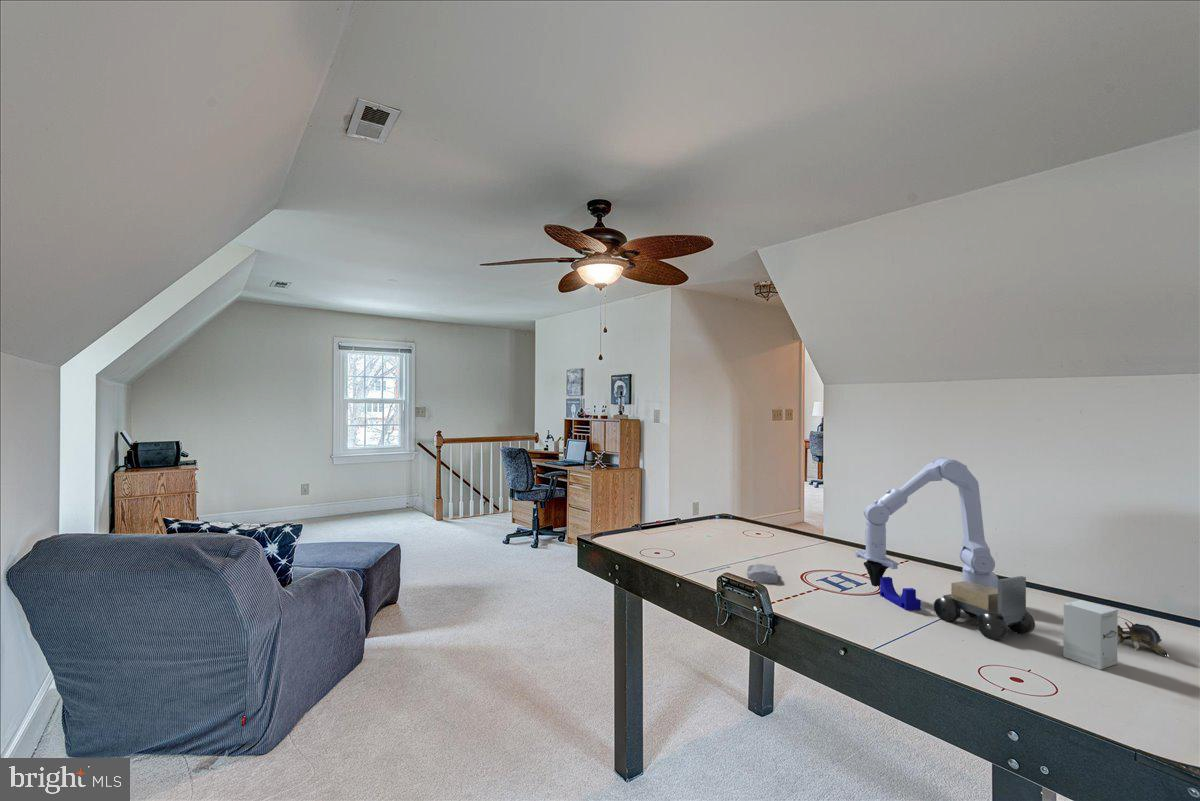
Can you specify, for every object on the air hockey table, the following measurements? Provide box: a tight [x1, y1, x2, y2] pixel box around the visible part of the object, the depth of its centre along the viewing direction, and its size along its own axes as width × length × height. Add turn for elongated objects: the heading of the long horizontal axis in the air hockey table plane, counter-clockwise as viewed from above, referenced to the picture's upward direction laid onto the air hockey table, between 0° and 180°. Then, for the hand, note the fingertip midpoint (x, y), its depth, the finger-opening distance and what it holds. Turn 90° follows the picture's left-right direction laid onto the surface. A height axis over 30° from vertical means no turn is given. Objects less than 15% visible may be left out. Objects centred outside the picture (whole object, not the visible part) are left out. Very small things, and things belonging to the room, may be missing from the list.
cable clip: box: [879, 576, 922, 611], centre depth 160 cm, size 12×4×6 cm, turn 6°
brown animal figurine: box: [1118, 621, 1168, 657], centre depth 131 cm, size 8×7×9 cm
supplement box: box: [1062, 599, 1119, 671], centre depth 124 cm, size 7×7×13 cm
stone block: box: [746, 563, 779, 585], centre depth 183 cm, size 12×5×10 cm
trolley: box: [933, 575, 1036, 640], centre depth 143 cm, size 13×18×15 cm
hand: (875, 585), depth 170 cm, fingers closed
